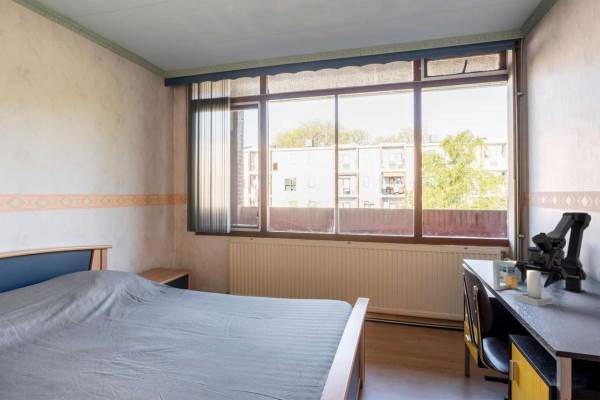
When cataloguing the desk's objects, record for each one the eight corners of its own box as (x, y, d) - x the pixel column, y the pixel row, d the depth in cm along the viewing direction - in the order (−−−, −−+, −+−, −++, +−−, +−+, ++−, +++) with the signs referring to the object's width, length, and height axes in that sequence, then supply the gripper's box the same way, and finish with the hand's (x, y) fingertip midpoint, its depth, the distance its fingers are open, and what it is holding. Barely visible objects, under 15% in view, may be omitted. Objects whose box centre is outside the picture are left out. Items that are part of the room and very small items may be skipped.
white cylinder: (532, 297, 147) (531, 269, 147) (547, 301, 141) (546, 272, 141) (521, 299, 145) (520, 270, 145) (536, 303, 139) (535, 273, 139)
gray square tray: (531, 297, 149) (531, 292, 149) (552, 303, 140) (552, 298, 140) (516, 299, 146) (516, 294, 146) (536, 306, 137) (536, 300, 137)
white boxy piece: (510, 286, 167) (510, 257, 167) (535, 293, 154) (534, 262, 154) (491, 288, 163) (491, 259, 163) (515, 296, 151) (514, 264, 151)
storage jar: (523, 271, 198) (522, 247, 198) (534, 269, 201) (534, 246, 201) (539, 275, 189) (539, 249, 189) (551, 273, 192) (550, 248, 191)
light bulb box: (508, 283, 172) (507, 263, 172) (497, 280, 179) (496, 261, 179) (523, 281, 175) (522, 262, 175) (512, 279, 182) (511, 260, 182)
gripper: (517, 243, 153) (503, 269, 148) (563, 248, 136) (549, 278, 132) (526, 258, 157) (514, 284, 152) (573, 265, 140) (560, 294, 135)
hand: (532, 284), depth 142 cm, fingers open, 9 cm apart
